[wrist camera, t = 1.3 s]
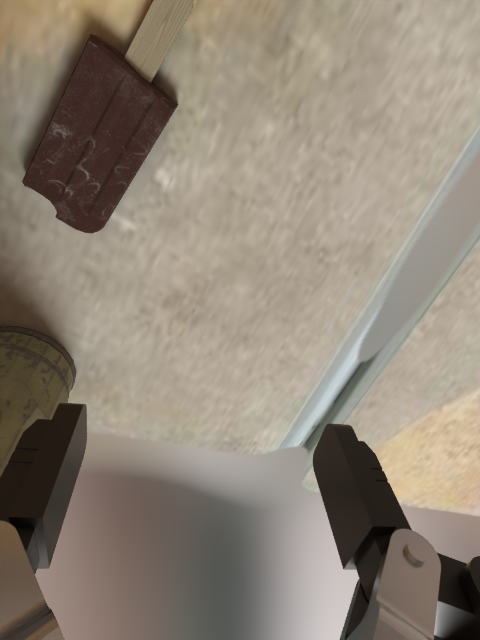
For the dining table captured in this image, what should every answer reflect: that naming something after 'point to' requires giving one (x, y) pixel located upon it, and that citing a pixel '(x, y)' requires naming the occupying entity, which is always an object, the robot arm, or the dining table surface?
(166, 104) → the ice cream bar
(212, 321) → the dining table surface
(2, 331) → the thermos
